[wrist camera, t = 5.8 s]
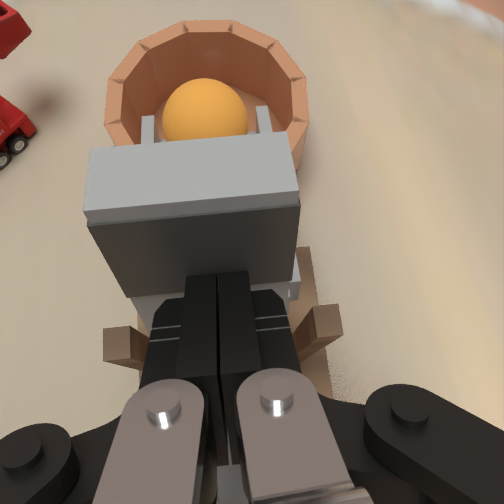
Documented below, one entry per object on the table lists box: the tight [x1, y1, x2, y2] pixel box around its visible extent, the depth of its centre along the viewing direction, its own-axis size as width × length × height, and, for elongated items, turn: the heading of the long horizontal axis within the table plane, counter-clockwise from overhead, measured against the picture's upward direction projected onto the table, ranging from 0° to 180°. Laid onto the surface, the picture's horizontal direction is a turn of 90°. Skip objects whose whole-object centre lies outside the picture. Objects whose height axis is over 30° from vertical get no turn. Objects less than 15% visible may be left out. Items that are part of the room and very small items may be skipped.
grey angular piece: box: [83, 105, 301, 504], centre depth 16 cm, size 18×6×13 cm, turn 6°
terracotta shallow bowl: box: [104, 20, 309, 172], centre depth 32 cm, size 13×13×6 cm
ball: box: [162, 78, 248, 142], centre depth 21 cm, size 4×4×4 cm
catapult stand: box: [103, 247, 343, 399], centre depth 24 cm, size 14×12×14 cm
